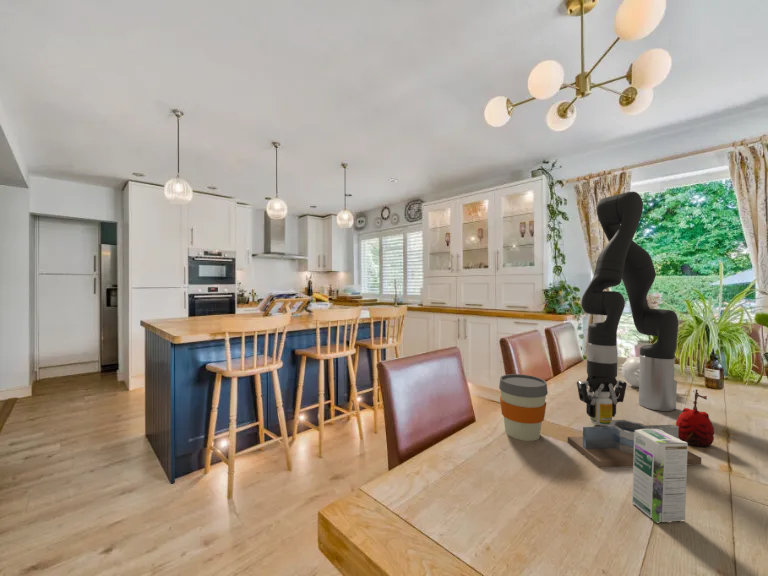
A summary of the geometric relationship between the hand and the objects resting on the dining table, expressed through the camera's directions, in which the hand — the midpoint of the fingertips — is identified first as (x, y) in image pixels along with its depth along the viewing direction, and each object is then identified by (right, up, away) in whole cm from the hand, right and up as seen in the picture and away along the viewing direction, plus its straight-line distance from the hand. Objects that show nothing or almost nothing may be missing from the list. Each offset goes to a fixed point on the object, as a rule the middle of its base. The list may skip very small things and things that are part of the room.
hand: (601, 415), depth 100 cm
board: (-2, -3, -15) cm, 16 cm away
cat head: (+39, -2, +37) cm, 54 cm away
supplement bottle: (0, -2, 0) cm, 2 cm away
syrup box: (-13, -4, -37) cm, 39 cm away
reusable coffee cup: (-25, -3, -4) cm, 26 cm away
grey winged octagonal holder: (-2, -2, -15) cm, 15 cm away
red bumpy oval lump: (+18, -4, -10) cm, 21 cm away
